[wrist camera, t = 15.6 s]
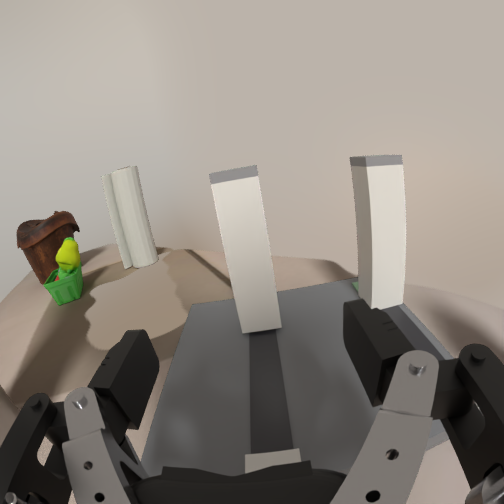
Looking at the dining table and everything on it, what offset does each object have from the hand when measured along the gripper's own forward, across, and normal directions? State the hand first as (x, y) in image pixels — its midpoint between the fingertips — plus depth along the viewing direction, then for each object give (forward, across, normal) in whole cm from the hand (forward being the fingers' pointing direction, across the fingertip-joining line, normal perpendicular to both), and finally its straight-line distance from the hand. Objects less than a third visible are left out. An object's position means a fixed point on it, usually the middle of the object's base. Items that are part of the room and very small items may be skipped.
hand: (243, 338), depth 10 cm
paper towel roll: (+45, +25, +11) cm, 53 cm away
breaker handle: (+13, 0, +8) cm, 15 cm away
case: (+48, +55, +11) cm, 74 cm away
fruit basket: (+33, +38, +11) cm, 51 cm away
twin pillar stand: (+8, -3, +10) cm, 13 cm away
